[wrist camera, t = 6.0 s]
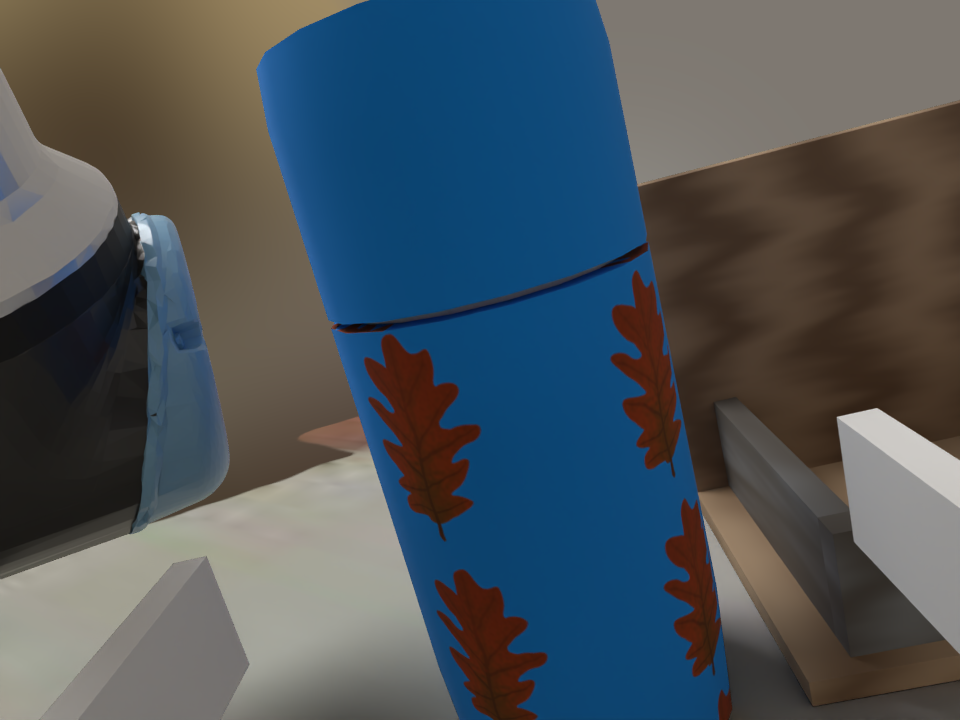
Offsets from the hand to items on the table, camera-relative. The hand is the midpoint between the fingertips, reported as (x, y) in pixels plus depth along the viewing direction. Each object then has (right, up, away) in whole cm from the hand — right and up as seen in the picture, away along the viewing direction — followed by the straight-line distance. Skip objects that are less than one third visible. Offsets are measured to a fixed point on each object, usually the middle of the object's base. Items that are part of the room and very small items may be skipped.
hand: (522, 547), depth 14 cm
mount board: (+20, -4, +18) cm, 27 cm away
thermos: (+4, -10, +14) cm, 17 cm away
